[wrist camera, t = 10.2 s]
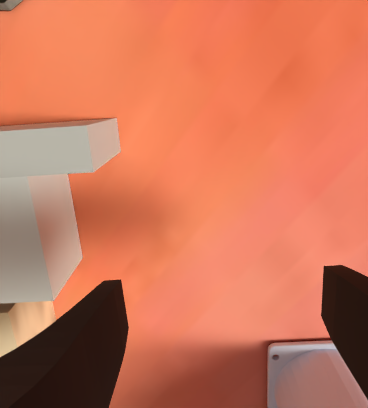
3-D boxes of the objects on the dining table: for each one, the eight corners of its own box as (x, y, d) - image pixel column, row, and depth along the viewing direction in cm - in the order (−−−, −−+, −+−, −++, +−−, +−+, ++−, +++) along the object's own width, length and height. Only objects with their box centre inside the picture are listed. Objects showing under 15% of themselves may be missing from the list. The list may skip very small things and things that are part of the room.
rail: (75, 401, 26) (50, 467, 22) (32, 402, 27) (-2, 469, 22) (37, 228, 22) (-6, 263, 17) (-14, 231, 22) (-71, 267, 17)
